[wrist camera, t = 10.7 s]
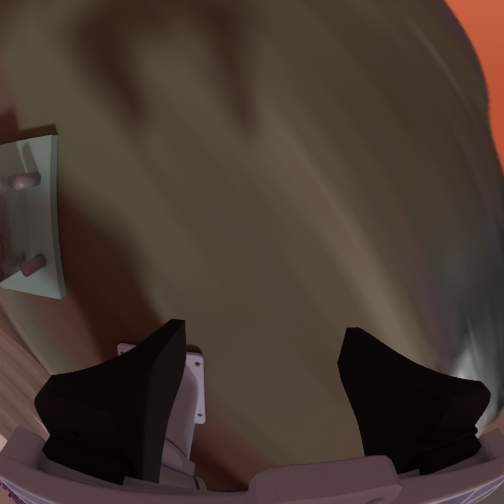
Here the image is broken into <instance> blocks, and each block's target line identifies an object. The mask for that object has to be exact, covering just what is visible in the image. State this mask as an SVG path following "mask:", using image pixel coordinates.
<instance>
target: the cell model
mask: <svg viewBox="0 0 504 504" xmlns="http://www.w3.org/2000/svg"><path fill="white" fill-rule="evenodd" d="M0 485H1V486H2V487H3V489H5V490H6V491H7V492H9V495H8V496H9V497H11V496H12V498H13V500H14V501H15V503H17V504H27V503H25V502H23V501H22V500H21V499H20V498H19V497H18V496H17V495H16V494H15V493H14V492H12V491H11V490H10V489H9V488H8V487H7V486H6V485H5V484H4V483H3V482H2V481H1V480H0Z"/></svg>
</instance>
